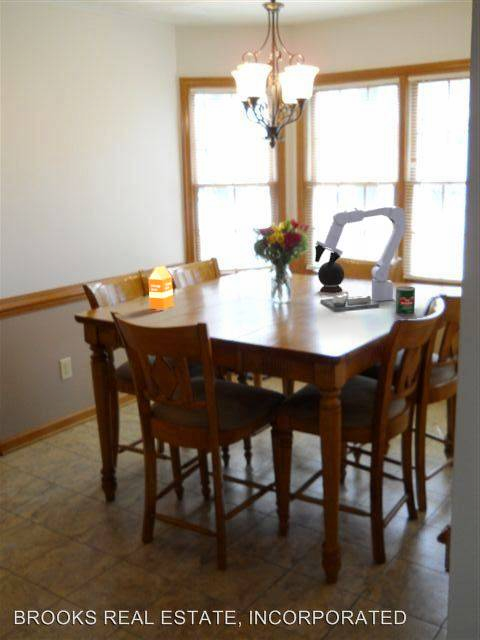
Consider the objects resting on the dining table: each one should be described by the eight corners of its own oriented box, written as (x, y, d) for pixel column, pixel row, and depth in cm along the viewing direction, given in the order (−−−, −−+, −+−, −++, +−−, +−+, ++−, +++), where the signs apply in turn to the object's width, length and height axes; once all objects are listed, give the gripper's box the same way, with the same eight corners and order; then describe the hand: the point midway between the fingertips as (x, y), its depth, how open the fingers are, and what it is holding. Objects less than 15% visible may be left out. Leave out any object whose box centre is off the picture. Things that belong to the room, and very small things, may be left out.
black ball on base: (348, 289, 352) (348, 260, 349) (337, 294, 342) (337, 264, 338) (325, 287, 359) (324, 259, 356) (313, 292, 349) (313, 262, 345)
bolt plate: (362, 299, 328) (362, 287, 327) (379, 307, 310) (379, 295, 309) (320, 302, 324) (320, 291, 322) (335, 311, 306) (335, 299, 304)
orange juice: (174, 306, 328) (171, 265, 323) (164, 310, 320) (161, 268, 315) (159, 305, 331) (157, 264, 326) (150, 309, 323) (147, 267, 319)
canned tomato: (404, 316, 292) (404, 290, 289) (391, 312, 299) (392, 287, 296) (418, 313, 295) (419, 288, 293) (406, 310, 302) (406, 285, 300)
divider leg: (343, 302, 314) (343, 296, 313) (339, 302, 315) (339, 296, 314) (348, 298, 324) (348, 291, 323) (345, 297, 324) (345, 291, 324)
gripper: (316, 230, 320) (306, 258, 323) (340, 240, 311) (329, 268, 314) (325, 233, 325) (315, 260, 328) (349, 243, 316) (338, 270, 319)
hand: (322, 264), depth 321 cm, fingers open, 7 cm apart
